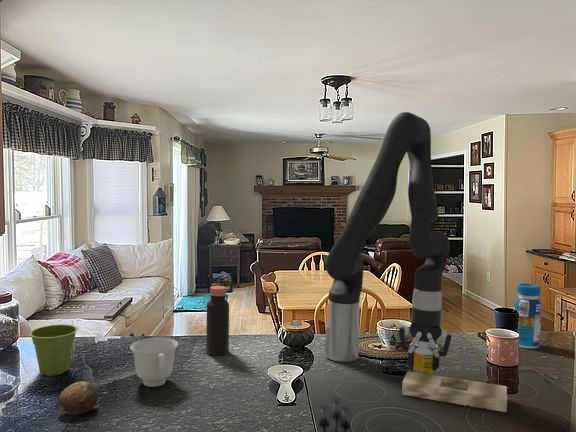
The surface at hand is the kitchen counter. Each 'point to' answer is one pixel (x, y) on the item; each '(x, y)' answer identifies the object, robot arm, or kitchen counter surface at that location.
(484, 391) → the wooden plank
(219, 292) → the vinegar
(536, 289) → the beverage bottle
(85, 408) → the brown potato
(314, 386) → the kitchen counter surface
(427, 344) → the supplement bottle
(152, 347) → the teacup
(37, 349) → the plant pot
